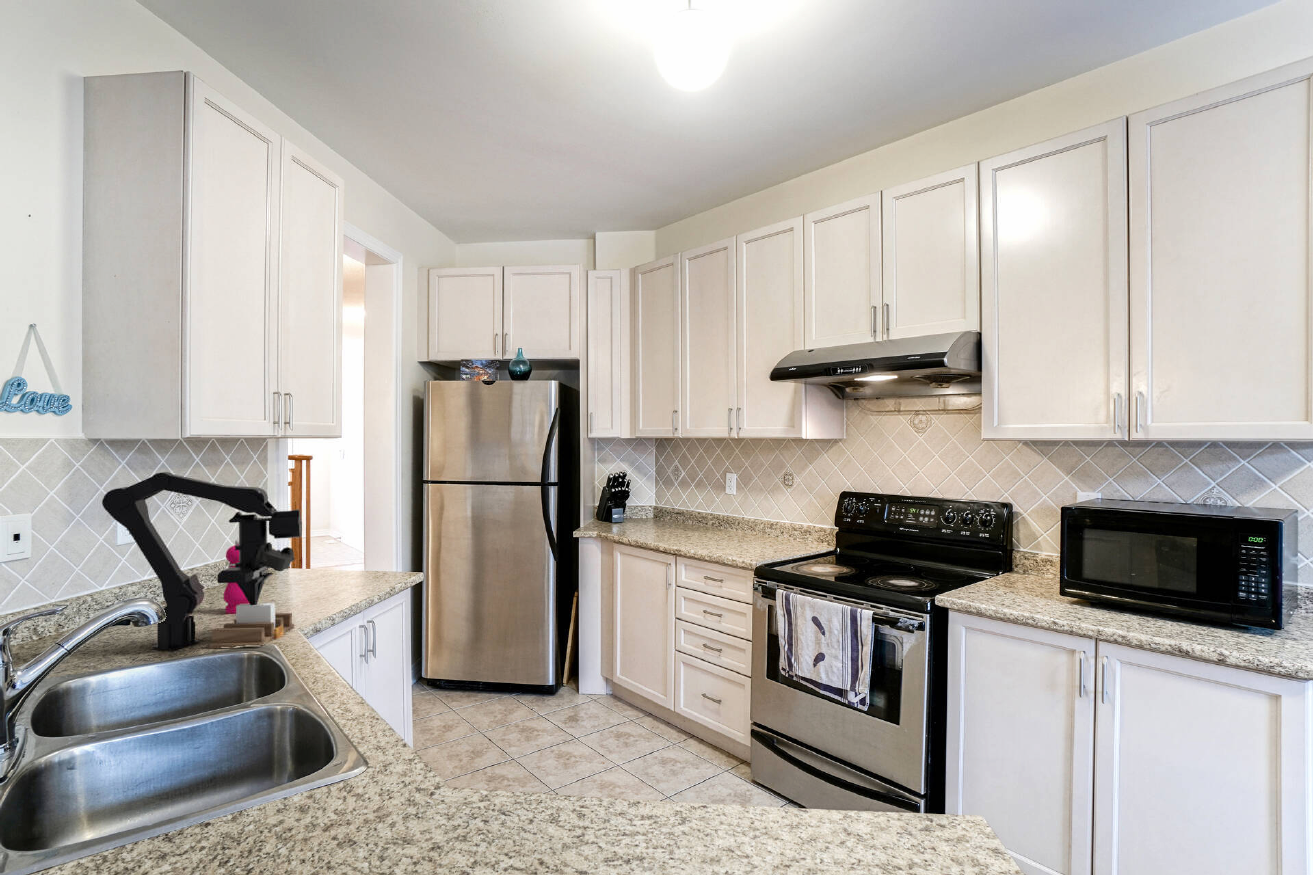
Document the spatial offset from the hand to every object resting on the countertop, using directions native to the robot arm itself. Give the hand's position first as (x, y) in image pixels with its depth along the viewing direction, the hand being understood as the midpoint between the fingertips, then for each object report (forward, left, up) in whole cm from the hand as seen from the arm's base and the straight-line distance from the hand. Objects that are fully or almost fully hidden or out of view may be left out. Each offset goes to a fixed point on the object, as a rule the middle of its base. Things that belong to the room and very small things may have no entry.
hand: (253, 604), depth 158 cm
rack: (0, 0, -8) cm, 8 cm away
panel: (0, 0, -7) cm, 7 cm away
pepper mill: (+18, +26, -8) cm, 33 cm away
